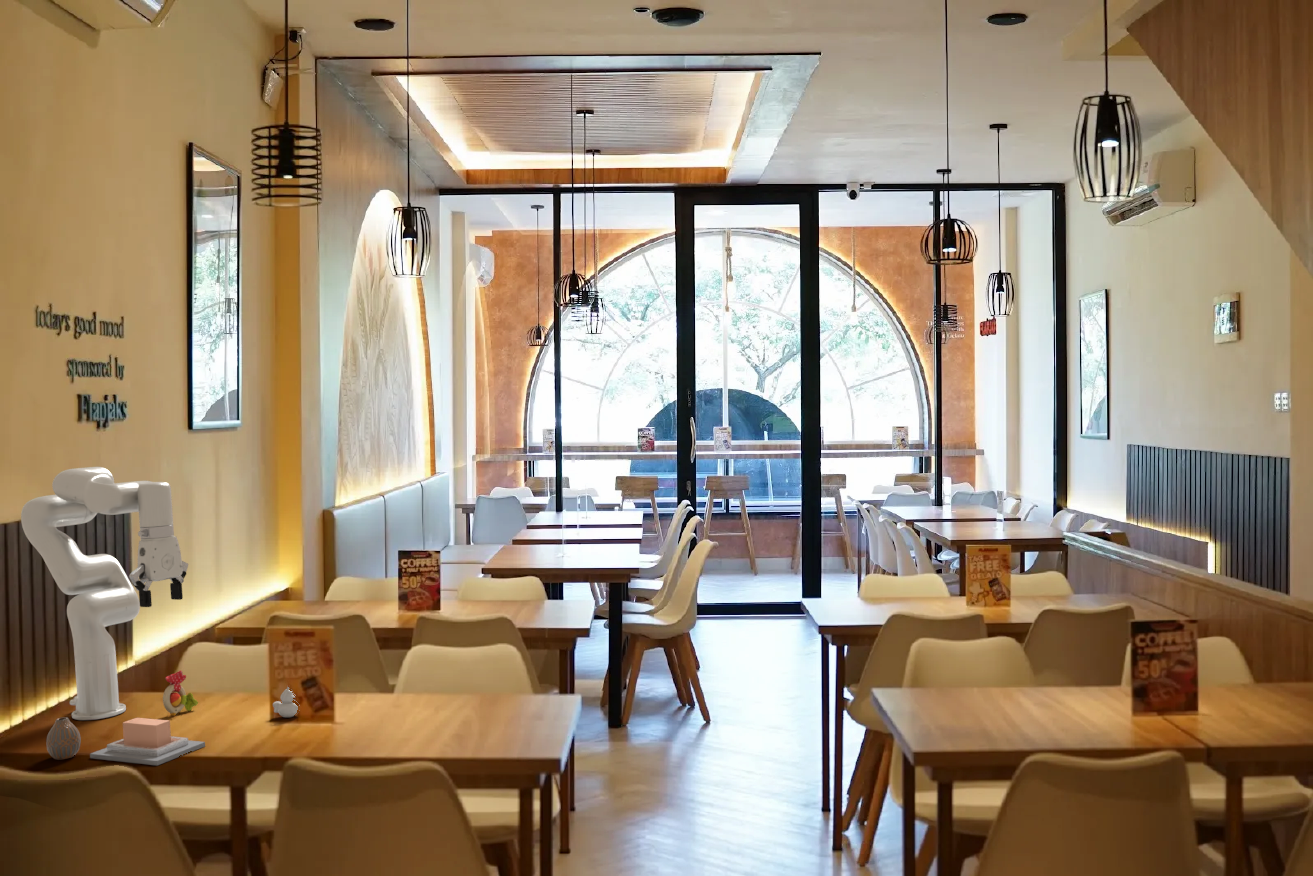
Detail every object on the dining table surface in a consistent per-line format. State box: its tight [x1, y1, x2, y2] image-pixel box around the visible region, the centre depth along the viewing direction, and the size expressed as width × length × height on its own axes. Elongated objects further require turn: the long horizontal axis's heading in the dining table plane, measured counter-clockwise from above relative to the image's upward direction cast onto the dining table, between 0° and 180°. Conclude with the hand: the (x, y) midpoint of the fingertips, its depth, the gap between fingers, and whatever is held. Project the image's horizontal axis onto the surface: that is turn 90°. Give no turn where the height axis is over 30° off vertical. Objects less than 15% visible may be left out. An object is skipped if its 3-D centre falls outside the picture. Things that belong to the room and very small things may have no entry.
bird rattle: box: [162, 670, 199, 717], centre depth 298 cm, size 6×11×9 cm
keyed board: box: [89, 735, 206, 766], centre depth 265 cm, size 20×14×2 cm
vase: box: [46, 716, 82, 761], centre depth 265 cm, size 7×7×9 cm
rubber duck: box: [272, 686, 298, 718], centre depth 290 cm, size 5×7×8 cm
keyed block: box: [122, 717, 172, 748], centre depth 265 cm, size 4×10×6 cm, turn 67°
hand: (161, 603), depth 285 cm, fingers open, 9 cm apart
